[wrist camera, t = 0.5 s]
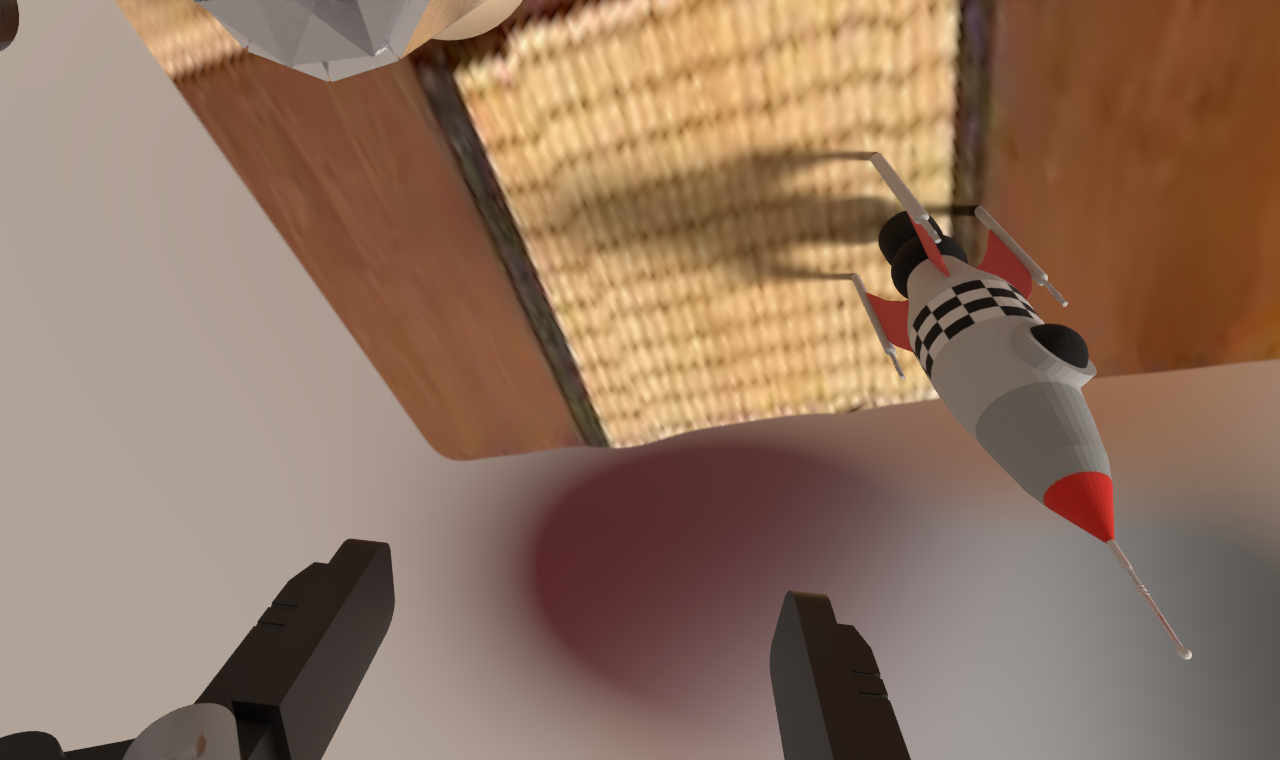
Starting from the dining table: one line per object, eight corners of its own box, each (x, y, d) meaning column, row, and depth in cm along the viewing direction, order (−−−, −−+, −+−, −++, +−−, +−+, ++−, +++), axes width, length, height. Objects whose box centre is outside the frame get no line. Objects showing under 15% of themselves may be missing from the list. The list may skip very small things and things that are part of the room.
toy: (991, 200, 40) (1431, 638, 17) (909, 302, 45) (1162, 746, 22) (875, 147, 38) (1193, 558, 15) (803, 259, 43) (958, 696, 20)
